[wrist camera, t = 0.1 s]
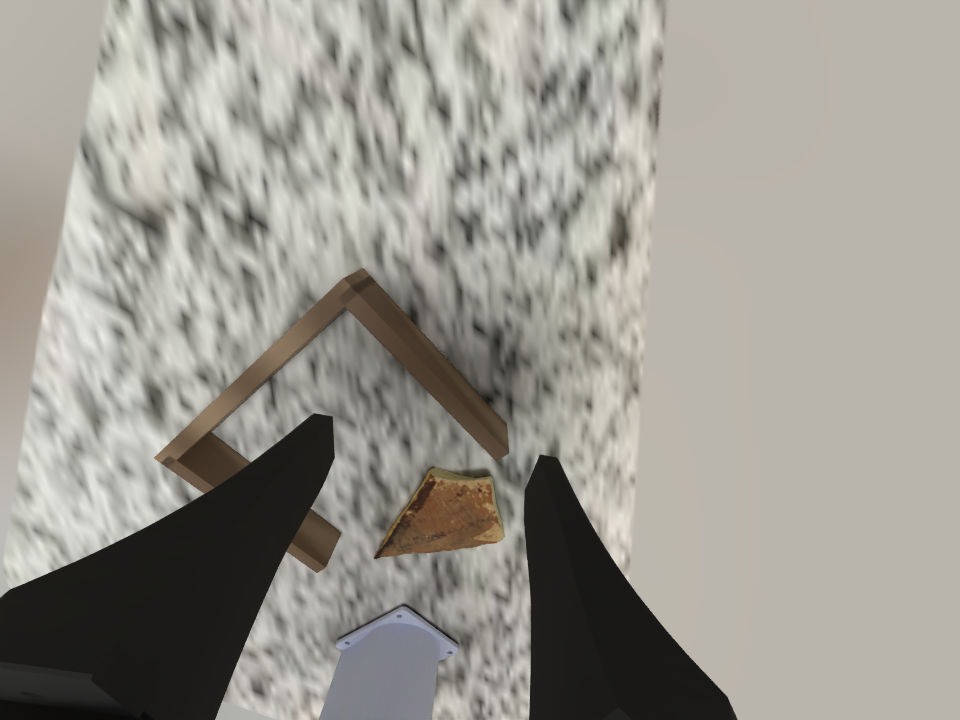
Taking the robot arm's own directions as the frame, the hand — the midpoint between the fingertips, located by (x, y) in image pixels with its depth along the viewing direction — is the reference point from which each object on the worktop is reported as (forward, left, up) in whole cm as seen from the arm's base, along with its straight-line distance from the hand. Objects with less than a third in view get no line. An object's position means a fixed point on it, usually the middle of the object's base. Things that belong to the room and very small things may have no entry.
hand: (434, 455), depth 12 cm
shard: (-10, -11, -11) cm, 19 cm away
